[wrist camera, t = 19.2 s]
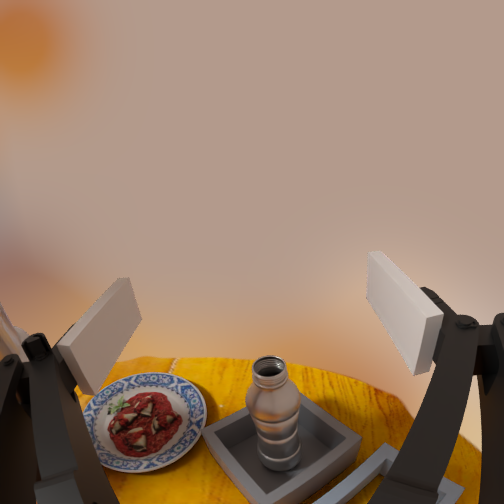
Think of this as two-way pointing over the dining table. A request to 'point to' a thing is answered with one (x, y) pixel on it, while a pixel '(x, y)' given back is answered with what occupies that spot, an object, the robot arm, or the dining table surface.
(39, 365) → the robot arm
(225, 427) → the bin
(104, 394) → the ceramic plate
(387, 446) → the bottle holder
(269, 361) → the plastic bottle
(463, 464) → the dining table surface
